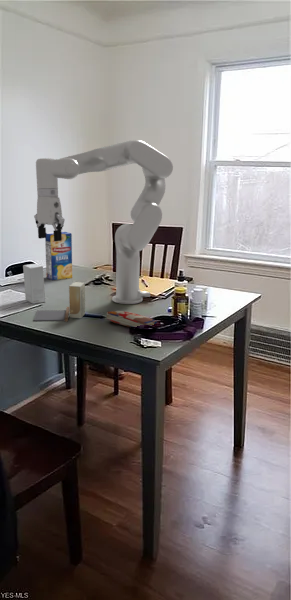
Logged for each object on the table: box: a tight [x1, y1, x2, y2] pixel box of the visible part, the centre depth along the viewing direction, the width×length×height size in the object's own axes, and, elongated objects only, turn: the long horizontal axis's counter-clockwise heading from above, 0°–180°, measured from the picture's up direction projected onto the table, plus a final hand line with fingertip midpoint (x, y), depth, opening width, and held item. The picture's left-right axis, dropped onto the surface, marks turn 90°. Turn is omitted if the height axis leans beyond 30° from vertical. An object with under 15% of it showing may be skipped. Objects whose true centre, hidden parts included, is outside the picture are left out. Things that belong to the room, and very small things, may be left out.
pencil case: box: [106, 310, 158, 328], centre depth 170 cm, size 11×20×5 cm, turn 41°
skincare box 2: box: [68, 281, 86, 319], centre depth 179 cm, size 6×4×12 cm
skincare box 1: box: [22, 263, 46, 305], centre depth 197 cm, size 8×6×15 cm
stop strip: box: [64, 306, 70, 323], centre depth 180 cm, size 1×14×2 cm, turn 6°
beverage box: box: [44, 231, 73, 281], centre depth 238 cm, size 7×11×22 cm, turn 123°
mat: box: [33, 309, 66, 322], centre depth 180 cm, size 11×12×1 cm
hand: (49, 239), depth 184 cm, fingers open, 9 cm apart
